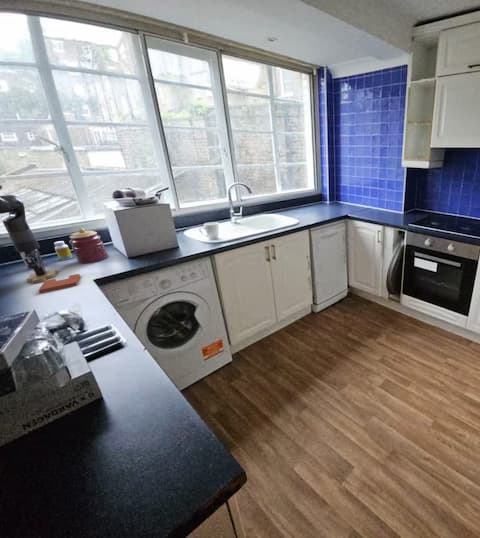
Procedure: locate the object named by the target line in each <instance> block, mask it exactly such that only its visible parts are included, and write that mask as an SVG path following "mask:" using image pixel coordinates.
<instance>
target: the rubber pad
mask: <svg viewBox="0 0 480 538" xmlns="http://www.w3.org/2000/svg"><path fill="white" fill-rule="evenodd" d="M80 278H81V275H80V273H76V274H71V275H68V278H63V279H59V280H57V279H56V278H50V279H46V281H44V282H42V284H41V286H40V287H39V289H38V292H39V294H42V293H47V292H52V291H57V290H61V289H65V288H71V287H74V286H75V287H76V286H78V283H79V281H80Z"/></svg>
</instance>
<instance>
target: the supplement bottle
mask: <svg viewBox="0 0 480 538" xmlns="http://www.w3.org/2000/svg"><path fill="white" fill-rule="evenodd" d="M53 244H54V249H55V252H56V254H57V256H58V259H59V260H60V261H66V260H69V259H72V258H73V257H74V255H73V254H72V252H71V249H70V247H69V245H68V244H65V241H64V240H58V241H55V242H53Z"/></svg>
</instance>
